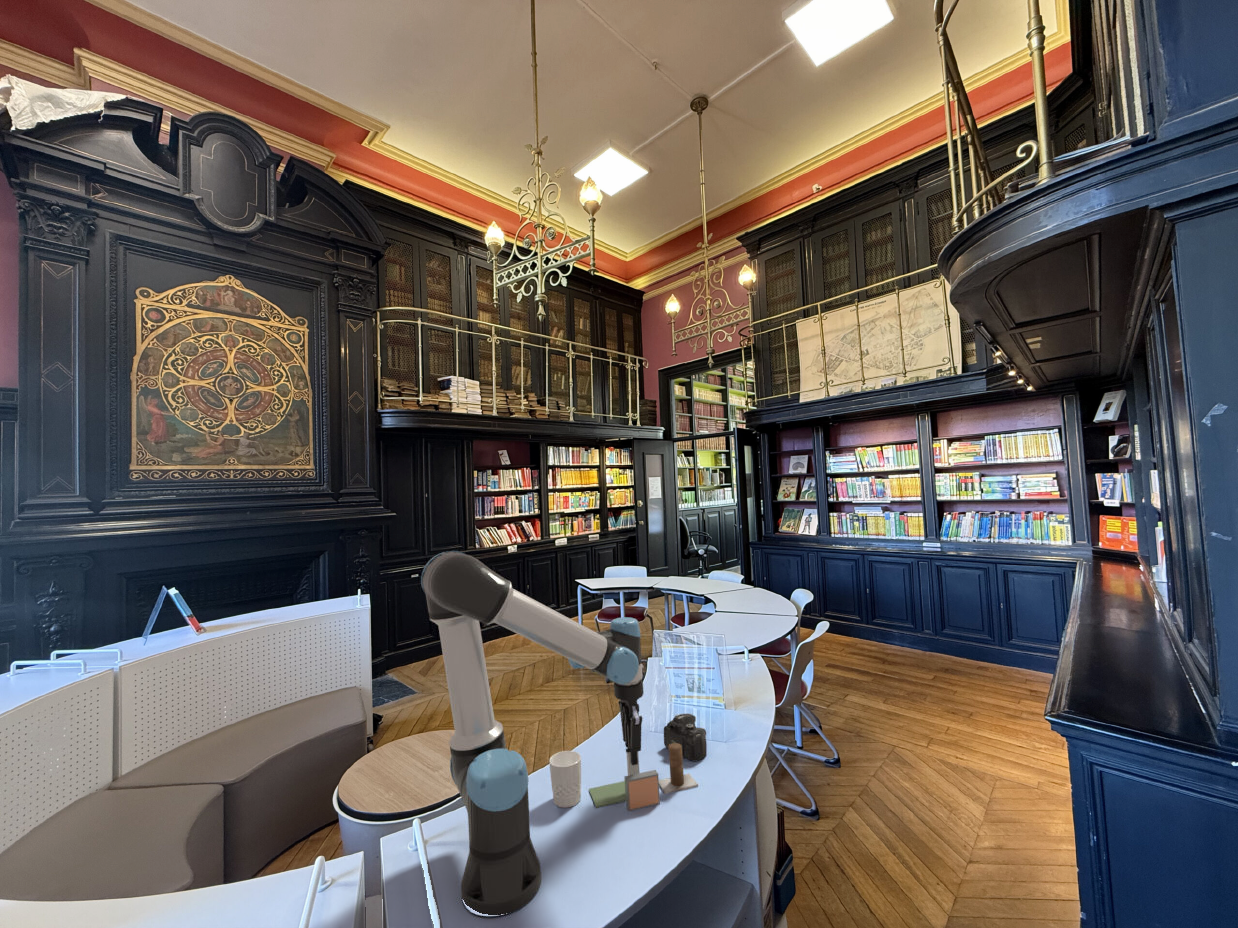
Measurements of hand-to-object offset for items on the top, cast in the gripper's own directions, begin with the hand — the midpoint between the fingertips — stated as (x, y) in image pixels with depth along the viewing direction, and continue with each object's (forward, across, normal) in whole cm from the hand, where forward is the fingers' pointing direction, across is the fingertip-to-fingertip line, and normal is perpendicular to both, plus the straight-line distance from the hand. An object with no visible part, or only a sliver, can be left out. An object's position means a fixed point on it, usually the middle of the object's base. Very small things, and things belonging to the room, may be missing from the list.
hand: (633, 775), depth 129 cm
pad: (+4, +1, +6) cm, 7 cm away
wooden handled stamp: (+4, -2, -11) cm, 12 cm away
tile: (+4, -6, 0) cm, 7 cm away
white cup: (+4, +3, +17) cm, 18 cm away
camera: (+4, +14, -20) cm, 24 cm away
